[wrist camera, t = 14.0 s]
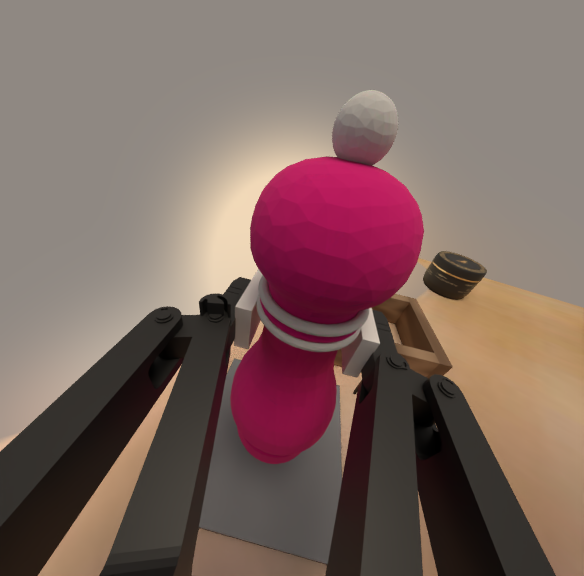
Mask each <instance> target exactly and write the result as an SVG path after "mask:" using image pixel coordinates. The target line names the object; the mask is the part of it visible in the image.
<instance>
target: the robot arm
mask: <svg viewBox="0 0 584 576" xmlns="http://www.w3.org/2000/svg"><path fill="white" fill-rule="evenodd" d="M261 277H262V273H261V272H260V271H259V269H258V270H257V272H256V274H255V275H254V277H253V279H252V280H249V279H245V278H241V277H239V278H238V279H236V280H234V281H233V282H232V283H231V285H230V286H229V287H228V289H227V290H226V292H225V293H224V294H223V295H222V294H210V295H206V296H204V297H203V298H201V300H200V301H199V307H200V315H181V312H180V310H179V309H177V308H175V307H161V308H158V309H156V310H154V311H152V312H151V313H149V314H148V315H147V316H146V317H145V318H144V319H143V320H142V321H141V322H140V323H139V324H138V325H137V326H135V327H134V328H133V329H132V330H131V331H130V332H129V333H128V334H127V335H126V336H125V337H123V338H122V339H121V340H120V341H119V342H118V343H117V344H116V345H115V346H114V347H113V348H112V349H111V350H109V351H108V352H107V353H106V354H105V355H104V356H103V357H102V358H101V359H100V360H99V361H98V362H97V363H95V364H94V365H93V366H92V367H91V368H90V369H89V370H88V371H87V372H86V373H85V374H84V375H83V376H81V377H80V378H79V379H78V380H77V381H76V382H75V383H74V384H73V385H72V386H71V387H70V388H68V389H67V390H66V391H65V392H64V393H63V394H62V395H61V396H60V397H59V398H58V399H57V400H56V401H55V402H54V403H52V404H51V405H50V406H49V407H48V408H47V409H46V410H45V411H44V412H43V413H42V414H41V415H39V416H38V417H37V418H36V419H35V420H34V421H33V422H32V423H31V424H30V425H29V426H28V427H26V428H25V429H24V430H23V431H22V432H21V433H20V434H19V435H18V436H17V437H16V438H15V439H13V440H12V441H11V442H10V443H9V444H8V445H7V446H6V447H5V448H4V449H3V450H2V451H1V452H0V576H38V574H39V573H40V571H41V570H42V568H43V567H44V565H45V564H46V563H47V561H48V560H49V558H50V557H51V555H52V554H53V552H54V551H55V549H56V548H57V546H58V545H59V543H60V542H61V541H62V539H63V538H64V536H65V535H66V533H67V532H68V530H69V529H70V527H71V526H72V524H73V523H74V521H75V520H76V518H77V517H78V516H79V514H80V513H81V511H82V510H83V508H84V507H85V505H86V504H87V502H88V501H89V499H90V498H91V496H92V495H93V494H94V492H95V491H96V489H97V488H98V486H99V485H100V483H101V482H102V480H103V479H104V477H105V476H106V474H107V473H108V471H109V470H110V469H111V467H112V466H113V464H114V463H115V461H116V460H117V458H118V457H119V455H120V454H121V452H122V451H123V449H124V448H125V447H126V445H127V444H128V442H129V441H130V439H131V438H132V436H133V435H134V433H135V432H136V430H137V429H138V427H139V426H140V424H141V423H142V422H143V420H144V419H145V417H146V416H147V414H148V413H149V411H150V410H151V408H152V407H153V405H154V404H155V402H156V401H157V400H158V398H159V397H160V395H161V394H162V392H163V391H164V389H165V388H166V386H167V385H168V383H169V382H170V380H171V379H172V377H173V376H174V375H175V373H176V372H177V370H178V369H179V367H180V366H181V368H180V371H179V373H178V376H177V378H176V381H175V384H174V386H173V389H172V392H171V394H170V397H169V399H168V402H167V405H166V407H165V410H164V413H163V415H162V418H161V420H160V423H159V426H158V428H157V431H156V434H155V436H154V439H153V441H152V444H151V447H150V449H149V452H148V454H147V457H146V460H145V462H144V465H143V468H142V470H141V473H140V475H139V478H138V481H137V483H136V486H135V489H134V491H133V494H132V496H131V499H130V502H129V504H128V507H127V510H126V512H125V515H124V517H123V520H122V523H121V525H120V528H119V530H118V533H117V536H116V538H115V541H114V544H113V546H112V549H111V551H110V554H109V556H108V559H107V561H106V564H105V566H104V568H103V570H102V572H101V573H100V575H99V576H191V573H192V563H193V557H194V551H195V545H196V540H197V534H198V529H199V523H200V518H201V512H202V507H203V501H204V496H205V490H206V485H207V479H208V474H209V468H210V463H211V457H212V451H213V446H214V440H215V435H216V429H217V424H218V418H219V413H220V407H221V402H222V396H223V391H224V385H225V380H226V374H227V369H228V363H229V358H230V349H231V345H232V343H233V341H234V346H237V347H241V348H245V349H249V346H250V344H251V342H252V339H253V337H254V334H255V332H256V330H257V327H258V325H259V323H260V320H261V319H260V317H259V314H258V311H257V298H258V295H259V291H258V286H259V282H260V279H261ZM341 349H342V374H345V375H349V376H353V377H358V375H359V374H360V372H361V373H362V380H361V382H360V383H359V385H358V386H357V387H356V389H355V390H354V392H353V394H356V393H357V398H356V404H355V409H354V415H353V421H352V427H351V432H350V438H349V444H348V449H347V455H346V461H345V467H344V472H343V478H342V484H341V490H340V495H339V501H338V507H337V513H336V518H335V524H334V530H333V536H332V541H331V547H330V553H329V559H328V564H327V570H326V576H423V569H422V553H421V536H420V520H419V503H418V492H419V496H420V501H421V505H422V509H423V513H424V518H425V522H426V526H427V530H428V534H429V539H430V543H431V547H432V551H433V556H434V560H435V564H436V568H437V572H438V576H556V575H555V573H554V571H553V569H552V567H551V565H550V563H549V561H548V559H547V557H546V555H545V554H544V552H543V550H542V548H541V546H540V544H539V542H538V540H537V538H536V536H535V534H534V532H533V530H532V528H531V526H530V524H529V522H528V520H527V518H526V516H525V514H524V512H523V510H522V509H521V507H520V505H519V503H518V501H517V499H516V497H515V495H514V493H513V491H512V489H511V487H510V485H509V483H508V481H507V479H506V477H505V475H504V473H503V471H502V469H501V467H500V466H499V464H498V462H497V460H496V458H495V456H494V454H493V452H492V450H491V448H490V446H489V444H488V442H487V440H486V438H485V436H484V434H483V432H482V430H481V428H480V426H479V424H478V422H477V421H476V419H475V417H474V415H473V413H472V411H471V409H470V407H469V405H468V403H467V401H466V399H465V397H464V395H463V393H462V392H461V390H460V389H459V387H458V386H457V385H456V384H455V383H454V382H453V381H451V380H450V379H448V378H447V377H444V376H442V375H438V374H434V375H432V376H430V377H429V378H427V377H425V376H423V375H421V374H419V373H417V372H415V371H414V370H412V369H410V366H409V364H408V362H407V361H406V359H405V358H404V357H402V356H401V355H400V354H398V352H397V349H396V346H395V343H394V340H393V336H392V333H391V330H390V327H389V323H388V320H387V318H386V317H385V315H384V314H383V313H382V312H380V311H376V310H372V308H369V315H368V318H367V320H366V322H365V323H364V325H363V326H362V327H361V330H360V333H359V335H358V336H357V338H356V339H355V340H354V341H353V342H352V343H351V344H349V345H348V346H346V347H344V348H341ZM181 364H182V365H181ZM357 391H358V392H357ZM435 423H436V424H435ZM436 426H437V427H436ZM437 428H438V429H437Z"/></svg>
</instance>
